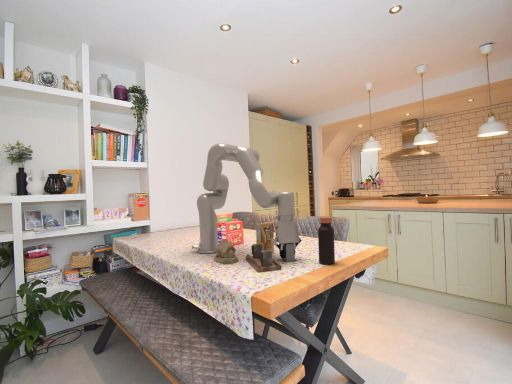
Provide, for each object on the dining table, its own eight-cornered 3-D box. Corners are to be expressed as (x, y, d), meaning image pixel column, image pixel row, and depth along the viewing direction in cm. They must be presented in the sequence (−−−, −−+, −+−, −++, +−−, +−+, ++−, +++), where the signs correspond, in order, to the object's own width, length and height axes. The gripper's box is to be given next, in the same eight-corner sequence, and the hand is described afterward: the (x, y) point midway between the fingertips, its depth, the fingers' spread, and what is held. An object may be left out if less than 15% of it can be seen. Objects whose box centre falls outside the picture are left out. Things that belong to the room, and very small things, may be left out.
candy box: (269, 250, 145) (268, 221, 145) (274, 251, 142) (273, 222, 142) (256, 253, 140) (255, 223, 139) (261, 255, 137) (260, 224, 136)
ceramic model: (210, 258, 133) (209, 238, 133) (231, 255, 139) (230, 235, 138) (222, 265, 121) (221, 243, 120) (244, 261, 127) (243, 240, 126)
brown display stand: (258, 272, 109) (257, 254, 109) (245, 259, 129) (245, 244, 128) (281, 269, 112) (280, 251, 112) (265, 257, 131) (265, 242, 131)
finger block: (285, 262, 123) (285, 244, 122) (280, 258, 128) (280, 242, 128) (294, 261, 124) (294, 243, 124) (289, 257, 130) (288, 241, 129)
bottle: (327, 266, 115) (326, 219, 114) (315, 262, 120) (314, 217, 120) (338, 262, 119) (336, 217, 118) (325, 259, 124) (324, 216, 124)
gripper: (271, 220, 120) (273, 261, 120) (306, 217, 124) (307, 257, 125) (266, 218, 127) (267, 257, 127) (299, 216, 132) (300, 253, 132)
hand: (287, 257), depth 126 cm, fingers closed on finger block, 4 cm apart
